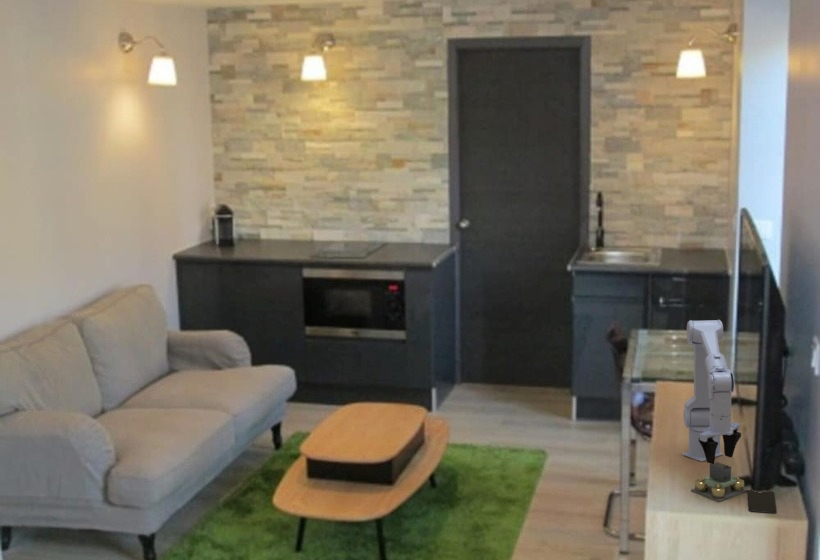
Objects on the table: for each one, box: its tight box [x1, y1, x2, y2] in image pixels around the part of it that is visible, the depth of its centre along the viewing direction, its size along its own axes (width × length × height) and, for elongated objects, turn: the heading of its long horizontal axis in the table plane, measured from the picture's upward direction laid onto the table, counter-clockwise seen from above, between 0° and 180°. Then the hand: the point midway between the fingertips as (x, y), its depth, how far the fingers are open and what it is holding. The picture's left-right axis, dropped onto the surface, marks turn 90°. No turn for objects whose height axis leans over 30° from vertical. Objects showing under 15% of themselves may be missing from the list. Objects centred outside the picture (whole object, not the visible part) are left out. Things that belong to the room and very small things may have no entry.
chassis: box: [690, 476, 749, 503], centre depth 309 cm, size 12×10×4 cm
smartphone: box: [746, 489, 778, 515], centre depth 301 cm, size 7×1×15 cm
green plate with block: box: [703, 461, 737, 488], centre depth 308 cm, size 9×7×5 cm
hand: (719, 459), depth 308 cm, fingers open, 7 cm apart
